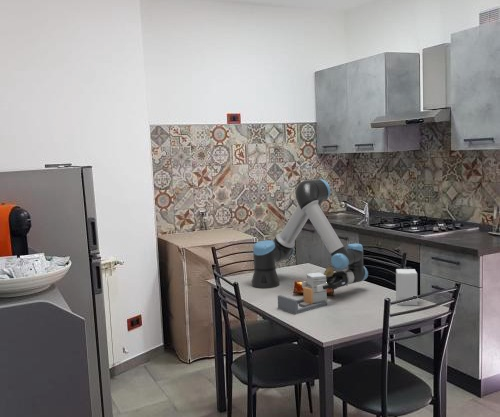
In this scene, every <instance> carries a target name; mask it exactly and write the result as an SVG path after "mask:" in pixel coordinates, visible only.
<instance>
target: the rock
mask: <svg viewBox="0 0 500 417" xmlns="http://www.w3.org/2000/svg"><path fill="white" fill-rule="evenodd" d="M334 273H335V271H334V270H333V268H332V267H331V266H329V265H328V266H327V267H326V268H325V270H324V272H323V274H324V275H325V276H326V277H329V276H332V275H333V274H334ZM326 282H327V280H326Z"/></svg>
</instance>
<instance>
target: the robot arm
mask: <svg viewBox="0 0 500 417" xmlns="http://www.w3.org/2000/svg"><path fill="white" fill-rule="evenodd" d="M294 193H295V194H294V196H295V199H296V202H297V206H296V207H295V209H294V211H293V213H292V214H291V215H290V218H289V219H288V221H287V222H286V224H285V225H284V227H283V229H282V230H281V232H280V233H277V234H276V235H275V237H274V239H273V240H267V239H265V240H260V241H257V242H255V243H254V244H253V251H252V253H253V270H254V271H253V273H252V274H253V276H252V279H251V286H252V287H253V288H259V289H269V288H270V289H271V288H276V287H279V285H280V278H279V276H278V274H277V271H276V270H277V268H276V263H279V262H281V261H283V262H284V261H286V260H288V259H290V258H291V257H292V256H293V255H294V252H295V248H294V247H295V246H296V245H295V244H296V243H295V241H296V239H297V238H298V236H299V234H300V233H301V231H302V229H303V227H304V226H305V224H306V223H307V221H308V220H310V222H311V224H312V226H313V227H314V230H315V231H316V232H317V234H318V236H319V237H320V239H321V241H322V243H323V244H324V246H325V247H326V249H327V251H328V253H329V255H330V256H331V259H330V262H331V266H333V268H334V269H337V270H339V271H334V274H333V275H332V276H329V277H326V280H327V283H325V284H322V285H318V286H317V292H319V291H323V290H331V289H332V290H336V289H339V288H341V287H346V286H347V287H348V285H352V284H355V283H360V282H362V281H364V280H367V278H368V276H369V271H368V269H367V268H366V267H365V265H364V247H363V244H361V243H355V242H354V243H348V244H347V247H346V248H347V249H346V248H345V246H344V245H343V243H342V241H341V240H340V238H339V236H338V235H337V233H336V231H335V229H334V228H333V226H332V224H331V222H329V220H328V218H327V217H326V215H325V213H324V211H323V210H322V208H321V204H323V202H324V201H327V200H328V199H329V198H330V196H331V187H330V185H329V182H328V181H326V180H324V179H322V178H316V179H310V180H307V179H306V180H302V181H300V182H299V183H298V185H297V186H296V189H295V192H294ZM346 268H347V269H346ZM301 287H302V288H301V289H303V288H304V287H307V280H304V281H301Z"/></svg>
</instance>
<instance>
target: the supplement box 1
mask: <svg viewBox="0 0 500 417" xmlns="http://www.w3.org/2000/svg"><path fill="white" fill-rule="evenodd" d="M306 281H307V288H310V289H313V304H317V303H320V302H323V301H325V302H327V301H328V298H327V297H328V296H327V290H328V289H326V290H323V291H319V292H317V286H318V285H322V284H325V283H326V276H325V275H324V273H323V272H312V273H310V272H309V273H306Z"/></svg>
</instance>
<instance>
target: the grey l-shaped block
mask: <svg viewBox="0 0 500 417" xmlns="http://www.w3.org/2000/svg"><path fill="white" fill-rule="evenodd" d="M302 302H304V297H303V298H299V299H296V298H295V299H294V298H291V297H289V296H284V295H281V294H279V295H277V308H278V310H282V311H285V312H288V313H290V314H294V315H299V314H301V313H304V312H308V311H311V310H314V309H317V308H318V309H319V308H322V307H325V306H327V304H328V303H327V302H325V301H323V302H320V303H313V305H310V306H306V307H299V303H302Z"/></svg>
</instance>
